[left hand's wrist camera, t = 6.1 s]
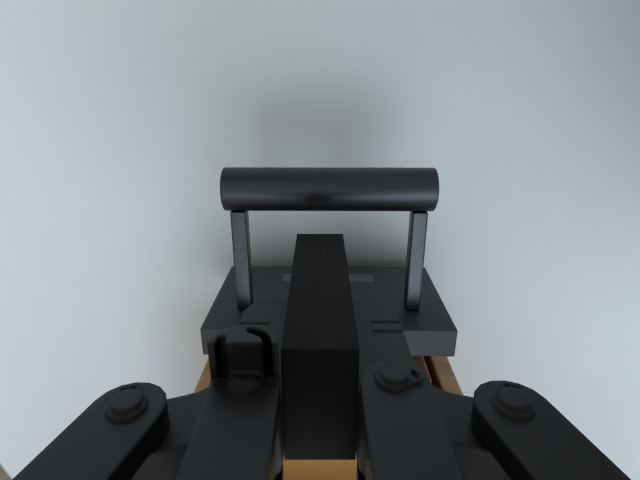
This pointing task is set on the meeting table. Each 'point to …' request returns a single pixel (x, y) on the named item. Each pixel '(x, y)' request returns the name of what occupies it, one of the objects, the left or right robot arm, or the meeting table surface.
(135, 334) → the meeting table surface
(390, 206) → the drawer
